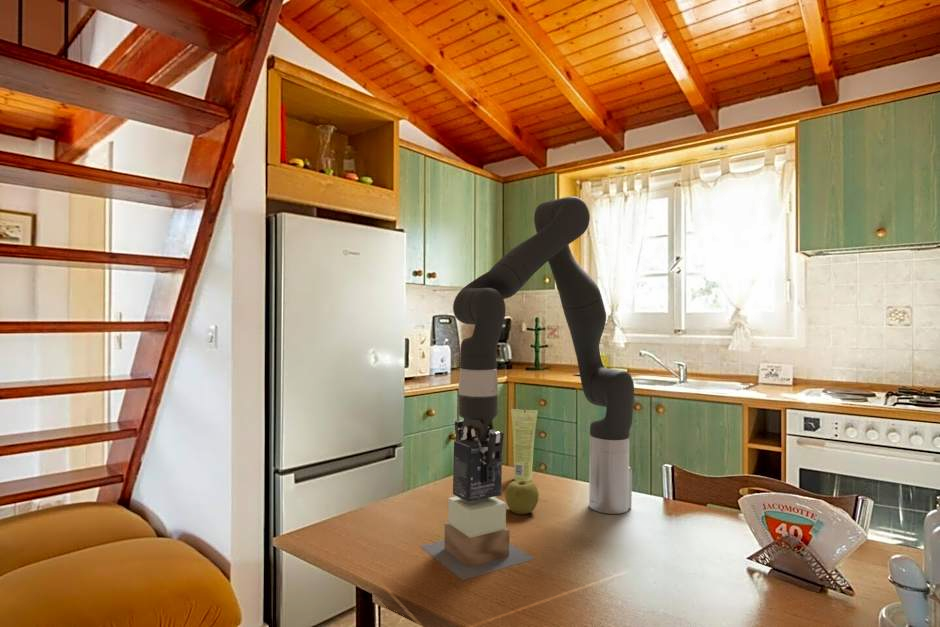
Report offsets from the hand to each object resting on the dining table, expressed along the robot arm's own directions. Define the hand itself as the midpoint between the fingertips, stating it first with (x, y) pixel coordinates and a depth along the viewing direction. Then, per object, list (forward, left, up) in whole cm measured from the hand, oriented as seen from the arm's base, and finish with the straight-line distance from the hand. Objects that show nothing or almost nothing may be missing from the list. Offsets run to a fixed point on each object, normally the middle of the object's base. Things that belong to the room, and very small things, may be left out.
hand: (477, 479), depth 106 cm
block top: (0, 0, -9) cm, 9 cm away
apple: (-21, -13, -15) cm, 29 cm away
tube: (-37, -33, -15) cm, 52 cm away
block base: (0, 0, -14) cm, 14 cm away
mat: (0, 0, -14) cm, 14 cm away
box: (0, 0, -3) cm, 3 cm away
